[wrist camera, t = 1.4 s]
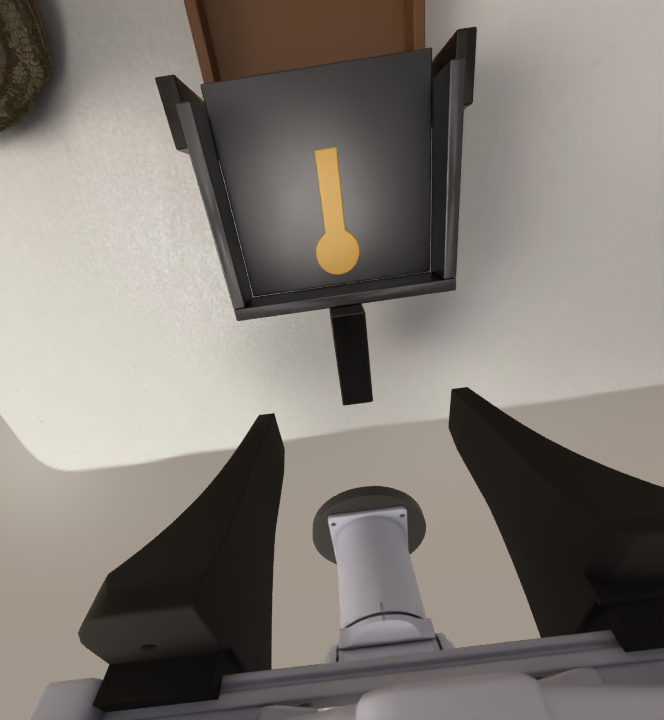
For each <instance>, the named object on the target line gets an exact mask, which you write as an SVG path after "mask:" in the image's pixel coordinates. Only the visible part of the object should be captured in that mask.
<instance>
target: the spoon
mask: <svg viewBox="0 0 664 720" xmlns="http://www.w3.org/2000/svg"><path fill="white" fill-rule="evenodd" d="M314 153H315V161H316V168H317V176H318V184H319V191H320V199H321V206H322V214H323V221H324V229H325V233H324V234H323V235H322V236H321V237H320V239H319V240H318V243H317V246H316V257H317V261H318V263H319V265H320V266H321V267H322V268H323V269H324V270H325V271H326V272H328V273H331V274H335V275H340V274H344V273H347V272H349V271H350V270H351V269H352V268H353V267H354V266H355V265H356V263H357V261H358V259H359V253H360V249H359V244H358V242H357V240H356V238H355V237H354V236H353V235H352V234H351V233H350V232H349V231H347V230H345V221H344V212H343V202H342V193H341V183H340V174H339V164H338V155H337V147H332V148H325V149H319V150H315V151H314Z"/></svg>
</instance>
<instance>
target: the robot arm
mask: <svg viewBox="0 0 664 720" xmlns="http://www.w3.org/2000/svg"><path fill="white" fill-rule="evenodd" d="M449 430H450V432H451V435H452V438H453V440H454V443H455V445H456V447H457V450H458V452H459V454H460V455H461V457H462V459H463V461H464V463H465V465H466V466H467V468H468V470H469V472H470V473H471V475H472V477H473V479H474V481H475V482H476V484H477V486H478V488H479V490H480V491H481V493H482V495H483V496H484V498H485V500H486V502H487V504H488V506H489V508H490V510H491V512H492V515H493V517H494V519H495V521H496V524H497V526H498V528H499V530H500V533H501V535H502V537H503V540H504V542H505V545H506V547H507V549H508V552H509V554H510V556H511V559H512V561H513V564H514V566H515V569H516V572H517V574H518V577H519V579H520V582H521V585H522V587H523V590H524V592H525V595H526V597H527V600H528V603H529V606H530V609H531V611H532V614H533V617H534V620H535V622H536V625H537V628H538V631H539V633H540V636H541V638H537V639H529V640H520V641H512V642H504V643H495V644H486V645H478V646H469V647H461V648H455V647H454V645H453V644H452V643H451V641H449V640H448V639H447V638H446V636H445V635H444V634H443V633H436V634H435V632H434V629H433V625H432V621H431V619H426V615H425V611H424V608H423V604H422V600H421V597H420V593H419V589H418V585H417V581H416V577H415V574H414V570H413V566H412V562H411V558H410V554H409V551H408V528H407V510H406V507H404V506H397V507H389V508H381V509H373V510H365V511H358V512H350V513H342V514H334V515H330V516H329V517H328V524H329V528H330V533H331V538H332V543H333V547H334V552H335V557H336V562H337V566H338V582H339V600H340V618H341V629H339V630H338V641H339V646H338V645H333V646H331V647H330V649H329V652H328V654H327V655H326V657H325V660H324V664H316V665H307V666H299V667H291V668H282V669H274V670H271V640H272V639H271V638H272V634H271V633H272V632H271V631H272V587H273V562H274V544H275V531H276V523H277V517H278V509H279V504H280V497H281V490H282V483H283V476H284V452H285V449H284V445H283V442H282V439H281V435H280V432H279V428H278V425H277V422H276V418H275V415H274V413H272V414H265V415H259V416H258V417H257V419H256V420H255V422H254V424H253V425H252V427H251V428H250V430H249V432H248V433H247V435H246V436H245V438H244V439H243V441H242V442H241V444H240V445H239V447H238V448H237V449H236V451H235V452H234V454H233V455H232V457H231V458H230V459H229V461H228V462H227V464H226V465H225V466H224V467H223V469H222V470H221V471H220V473H219V474H218V475H217V476H216V478H215V479H214V480H213V481H212V482H211V484H210V485H209V486H208V487H207V488H206V489H205V490H204V491H203V493H202V494H201V495H200V496H199V497H198V498H197V499H196V500H195V501H194V502H193V503H192V504H191V505H190V506H189V507H188V508H187V509H186V510H185V511H184V512H183V513H182V514H181V515H180V516H179V517H178V518H177V519H176V520H175V521H174V522H173V523H172V524H170V525H169V526H168V527H167V528H166V529H165V530H164V531H162V532H161V533H160V534H159V535H158V536H157V537H155V538H154V539H153V540H152V541H151V542H150V543H148V544H147V545H146V546H145V547H143V548H142V549H141V550H140V551H138V552H137V553H136V554H134V555H133V556H132V557H131V558H130V559H128V560H127V561H125V562H124V563H123V564H121V565H120V566H119V567H118V568H116V569H115V570H113V571H112V572H111V573H109V574H108V576H107V577H106V579H105V581H104V583H103V584H102V586H101V588H100V590H99V592H98V594H97V596H96V598H95V600H94V602H93V604H92V606H91V608H90V610H89V611H88V613H87V615H86V618H85V619H84V621H83V623H82V626H81V627H80V630H79V632H78V635H79V638H80V641H81V643H82V644H83V645H84V646H85V647H86V648H87V649H89V650H91V651H92V652H93V653H94V654H96V655H97V656H99V657H100V658H102V659H103V660H104V661H106V662H107V663H108V664H110V665H109V667H108V669H107V672H106V674H105V677H104V679H103V680H101V679H96V678H85V679H76V680H68V681H60V682H51V683H49V684H48V685H47V686H46V687H45V689H44V691H43V692H42V694H41V696H40V698H39V700H38V702H37V704H36V706H35V708H34V710H33V711H32V714H31V715H30V717H29V719H28V720H664V487H661V486H658V485H655V484H651V483H649V482H646V481H643V480H640V479H638V478H635V477H632V476H630V475H627V474H624V473H621V472H619V471H617V470H614V469H612V468H609V467H607V466H604V465H602V464H600V463H597V462H595V461H593V460H590V459H588V458H586V457H584V456H581V455H579V454H577V453H575V452H573V451H571V450H569V449H567V448H565V447H563V446H561V445H559V444H557V443H555V442H553V441H551V440H549V439H547V438H545V437H544V436H542V435H540V434H538V433H536V432H535V431H533V430H531V429H530V428H528V427H526V426H525V425H523V424H521V423H519V422H518V421H516V420H515V419H513V418H512V417H510V416H509V415H507V414H506V413H504V412H503V411H501V410H500V409H498V408H497V407H495V406H494V405H492V404H491V403H489V402H488V401H487V400H485V399H484V398H482V397H481V396H479V395H478V394H476V393H475V392H474V391H472V390H471V389H469V388H468V387H464V388H457V389H452V391H451V403H450V415H449ZM320 708H324V711H320V712H318V710H317V709H320Z"/></svg>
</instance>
